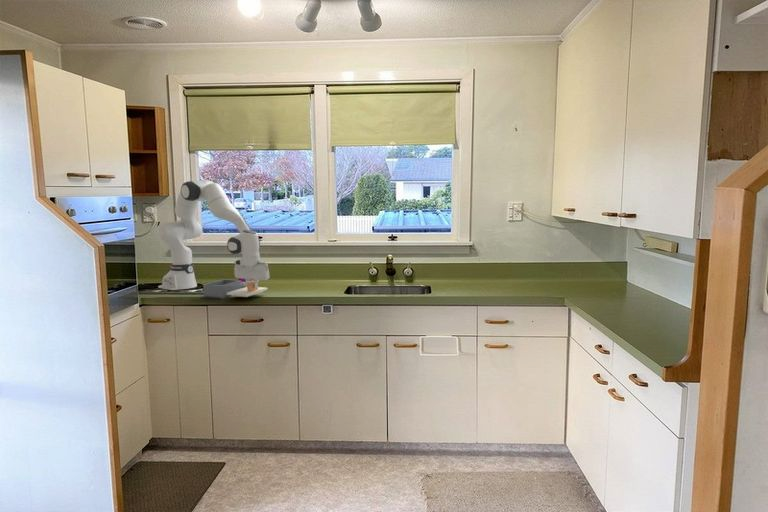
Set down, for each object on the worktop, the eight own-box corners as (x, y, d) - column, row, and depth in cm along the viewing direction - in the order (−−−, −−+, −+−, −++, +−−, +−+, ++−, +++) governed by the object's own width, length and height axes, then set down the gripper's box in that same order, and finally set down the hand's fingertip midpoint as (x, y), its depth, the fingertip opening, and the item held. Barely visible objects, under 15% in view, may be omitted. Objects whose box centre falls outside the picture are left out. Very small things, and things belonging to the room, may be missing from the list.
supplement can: (248, 287, 290) (247, 261, 288) (235, 286, 292) (234, 261, 290) (255, 284, 298) (253, 259, 296) (242, 284, 300) (241, 259, 298)
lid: (226, 296, 257) (226, 284, 256) (248, 290, 272) (247, 278, 272) (247, 297, 252) (246, 285, 251) (267, 291, 267) (266, 279, 266)
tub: (203, 297, 264) (203, 284, 263) (224, 291, 279) (224, 279, 278) (221, 299, 259) (220, 285, 258) (241, 293, 274) (241, 280, 273)
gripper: (271, 261, 257) (272, 287, 259) (239, 259, 265) (241, 285, 267) (263, 263, 251) (265, 289, 253) (231, 261, 259) (233, 287, 261)
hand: (252, 287), depth 260 cm, fingers closed on lid
